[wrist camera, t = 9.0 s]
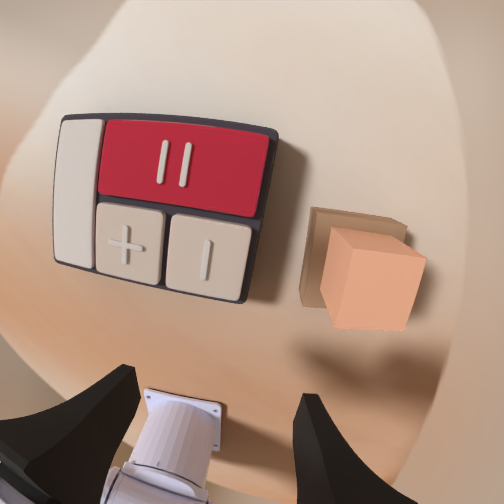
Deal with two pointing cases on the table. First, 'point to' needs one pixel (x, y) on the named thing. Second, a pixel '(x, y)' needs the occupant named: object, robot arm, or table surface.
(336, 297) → the terracotta block
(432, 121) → the table surface
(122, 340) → the table surface
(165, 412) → the robot arm
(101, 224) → the calculator
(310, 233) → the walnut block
